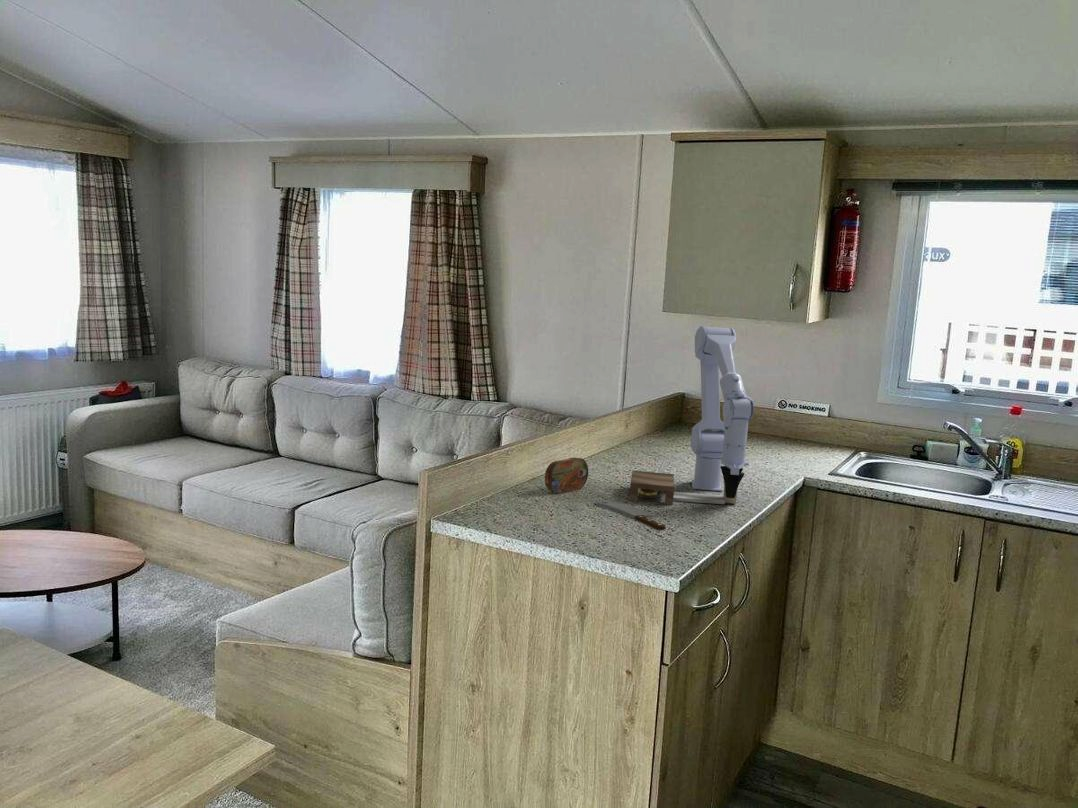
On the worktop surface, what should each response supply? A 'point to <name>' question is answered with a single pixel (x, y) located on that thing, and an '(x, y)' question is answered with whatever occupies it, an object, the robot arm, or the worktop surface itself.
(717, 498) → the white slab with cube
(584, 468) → the tin
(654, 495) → the brass token
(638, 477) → the low shelf
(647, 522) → the kitchen knife
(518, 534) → the worktop surface
